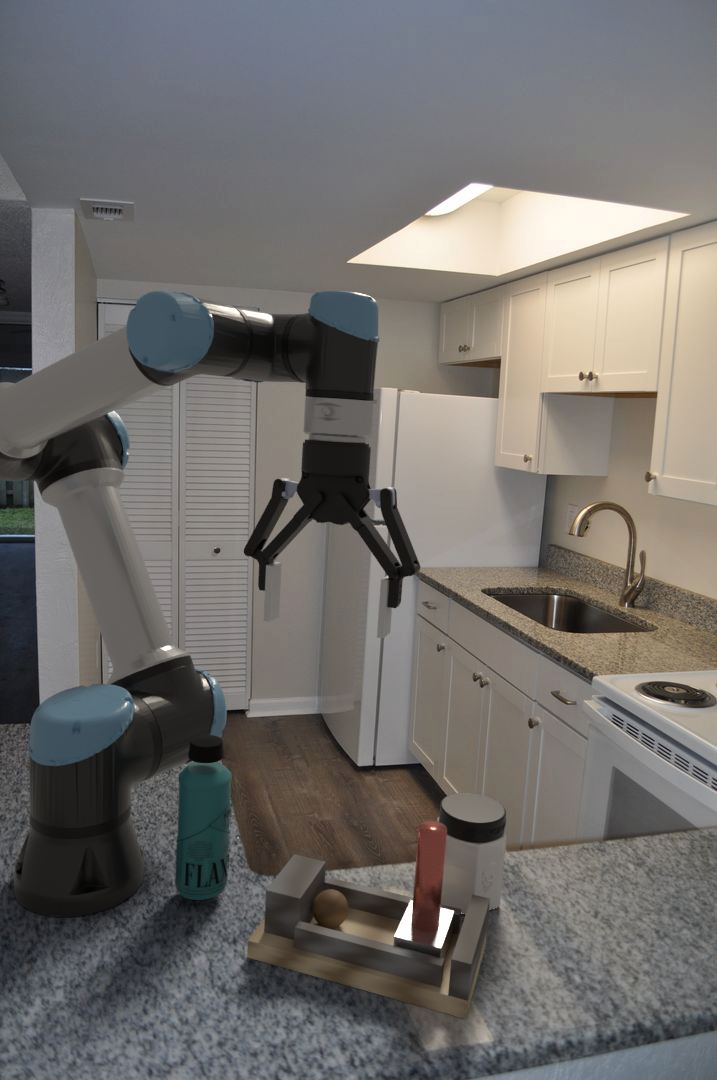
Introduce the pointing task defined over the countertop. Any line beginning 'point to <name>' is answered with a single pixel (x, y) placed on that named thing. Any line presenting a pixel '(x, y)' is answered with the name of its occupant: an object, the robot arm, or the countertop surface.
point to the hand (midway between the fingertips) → (326, 627)
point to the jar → (472, 849)
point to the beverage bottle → (203, 821)
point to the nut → (330, 908)
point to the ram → (427, 897)
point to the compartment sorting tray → (367, 941)
